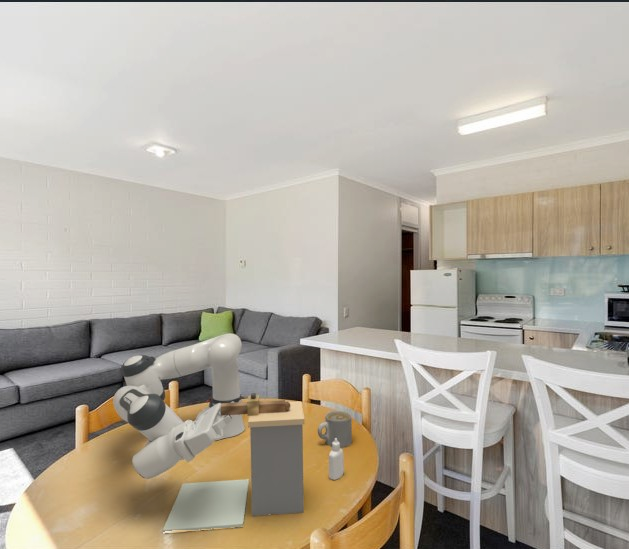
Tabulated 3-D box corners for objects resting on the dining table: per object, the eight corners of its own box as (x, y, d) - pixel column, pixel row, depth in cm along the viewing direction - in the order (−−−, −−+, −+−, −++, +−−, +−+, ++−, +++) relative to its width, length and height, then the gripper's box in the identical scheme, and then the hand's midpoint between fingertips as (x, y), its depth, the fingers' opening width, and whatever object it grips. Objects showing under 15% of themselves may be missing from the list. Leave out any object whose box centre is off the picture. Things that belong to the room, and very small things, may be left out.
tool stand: (249, 517, 98) (248, 421, 98) (253, 488, 111) (251, 403, 110) (305, 513, 100) (304, 418, 99) (302, 485, 113) (301, 401, 112)
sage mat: (162, 534, 93) (162, 530, 93) (183, 486, 112) (183, 483, 112) (242, 527, 95) (242, 523, 95) (249, 482, 114) (249, 479, 114)
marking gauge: (219, 417, 101) (219, 398, 101) (222, 410, 106) (222, 392, 106) (290, 413, 103) (290, 395, 103) (290, 406, 108) (290, 389, 108)
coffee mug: (347, 434, 146) (347, 409, 146) (355, 446, 136) (354, 419, 136) (314, 437, 144) (314, 412, 143) (320, 450, 134) (319, 423, 134)
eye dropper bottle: (325, 474, 118) (325, 437, 118) (341, 470, 120) (340, 434, 120) (331, 481, 114) (330, 443, 114) (347, 477, 116) (346, 439, 116)
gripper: (203, 430, 113) (242, 405, 114) (186, 466, 92) (234, 436, 93) (192, 413, 112) (231, 388, 113) (173, 445, 92) (221, 415, 93)
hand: (232, 410), depth 103 cm, fingers open, 8 cm apart
